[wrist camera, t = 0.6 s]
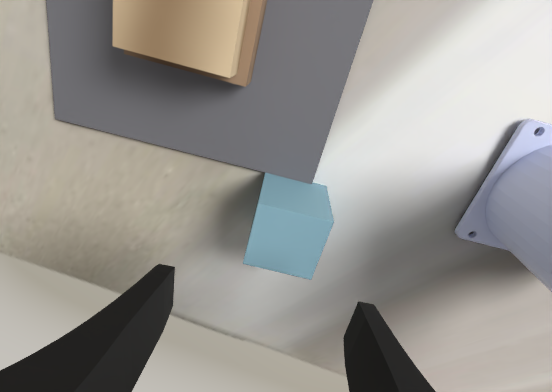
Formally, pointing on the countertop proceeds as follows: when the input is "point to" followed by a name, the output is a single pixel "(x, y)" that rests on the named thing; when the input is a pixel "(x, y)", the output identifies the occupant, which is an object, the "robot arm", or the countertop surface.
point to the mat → (213, 86)
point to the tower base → (247, 52)
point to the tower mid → (184, 31)
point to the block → (289, 226)
